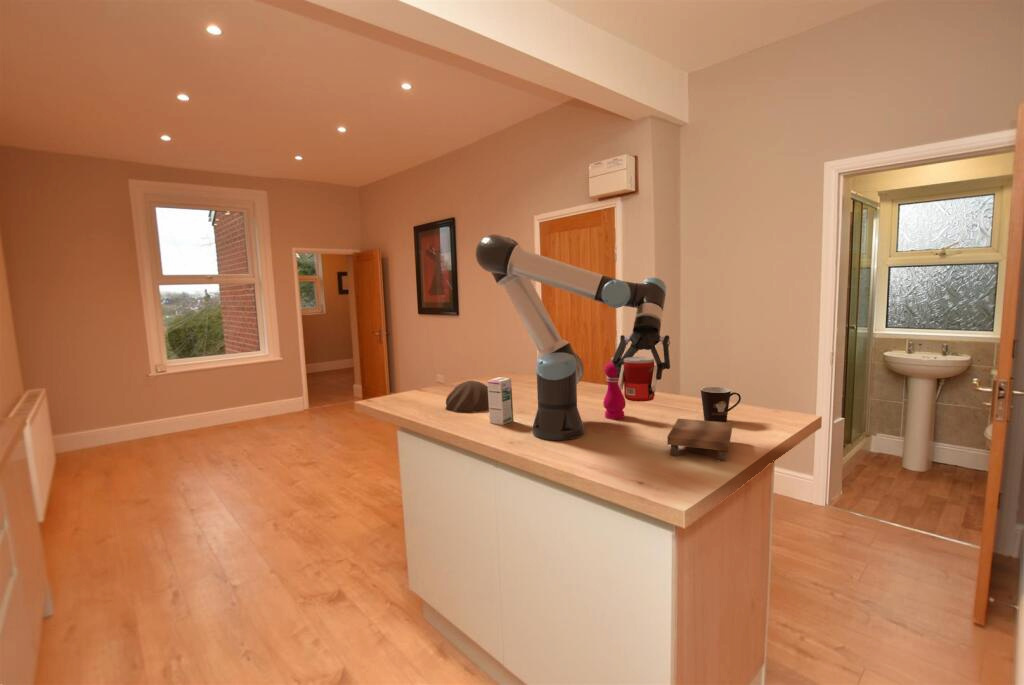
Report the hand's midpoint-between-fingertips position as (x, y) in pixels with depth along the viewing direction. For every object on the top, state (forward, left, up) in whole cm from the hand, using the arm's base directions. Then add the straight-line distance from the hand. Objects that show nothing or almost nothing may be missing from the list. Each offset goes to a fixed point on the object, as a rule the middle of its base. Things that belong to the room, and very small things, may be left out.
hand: (636, 387), depth 128 cm
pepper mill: (-13, +27, -16) cm, 34 cm away
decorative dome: (-68, +25, -17) cm, 74 cm away
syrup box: (-46, +9, -16) cm, 50 cm away
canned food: (0, +3, -4) cm, 5 cm away
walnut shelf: (+16, +4, -16) cm, 23 cm away
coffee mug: (+19, +32, -16) cm, 41 cm away
